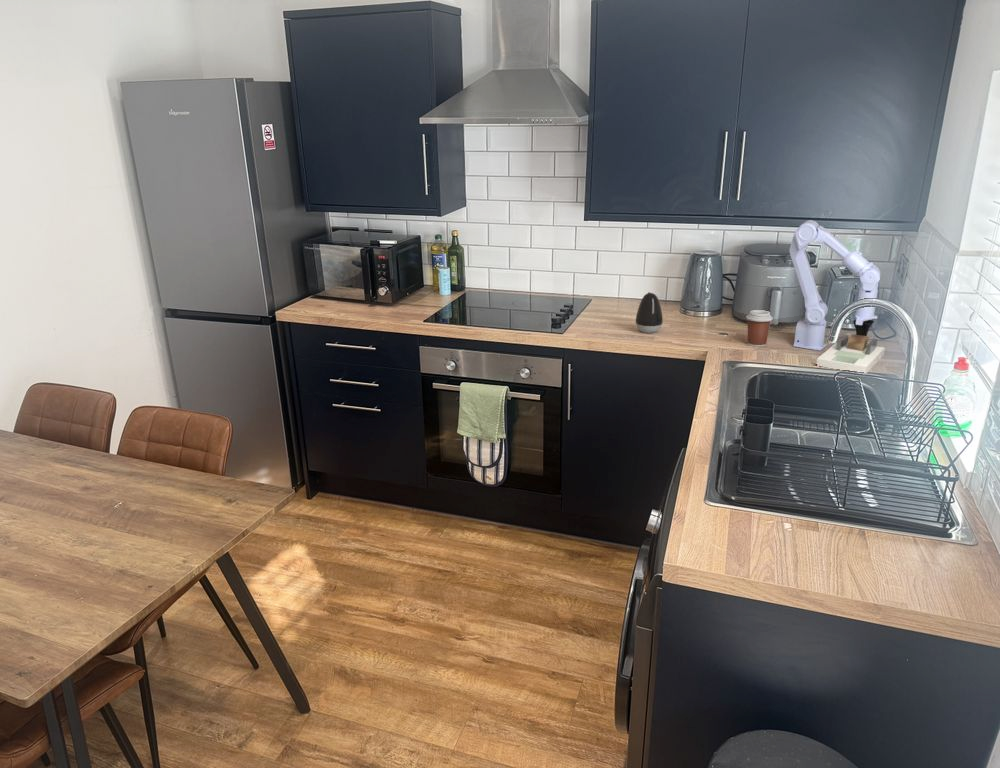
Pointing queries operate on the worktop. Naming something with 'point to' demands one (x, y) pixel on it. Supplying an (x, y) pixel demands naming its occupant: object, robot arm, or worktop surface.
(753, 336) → the coffee cup
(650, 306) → the black and white egg-shape
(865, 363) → the channel board
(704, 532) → the worktop surface
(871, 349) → the channel walls
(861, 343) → the walnut block
